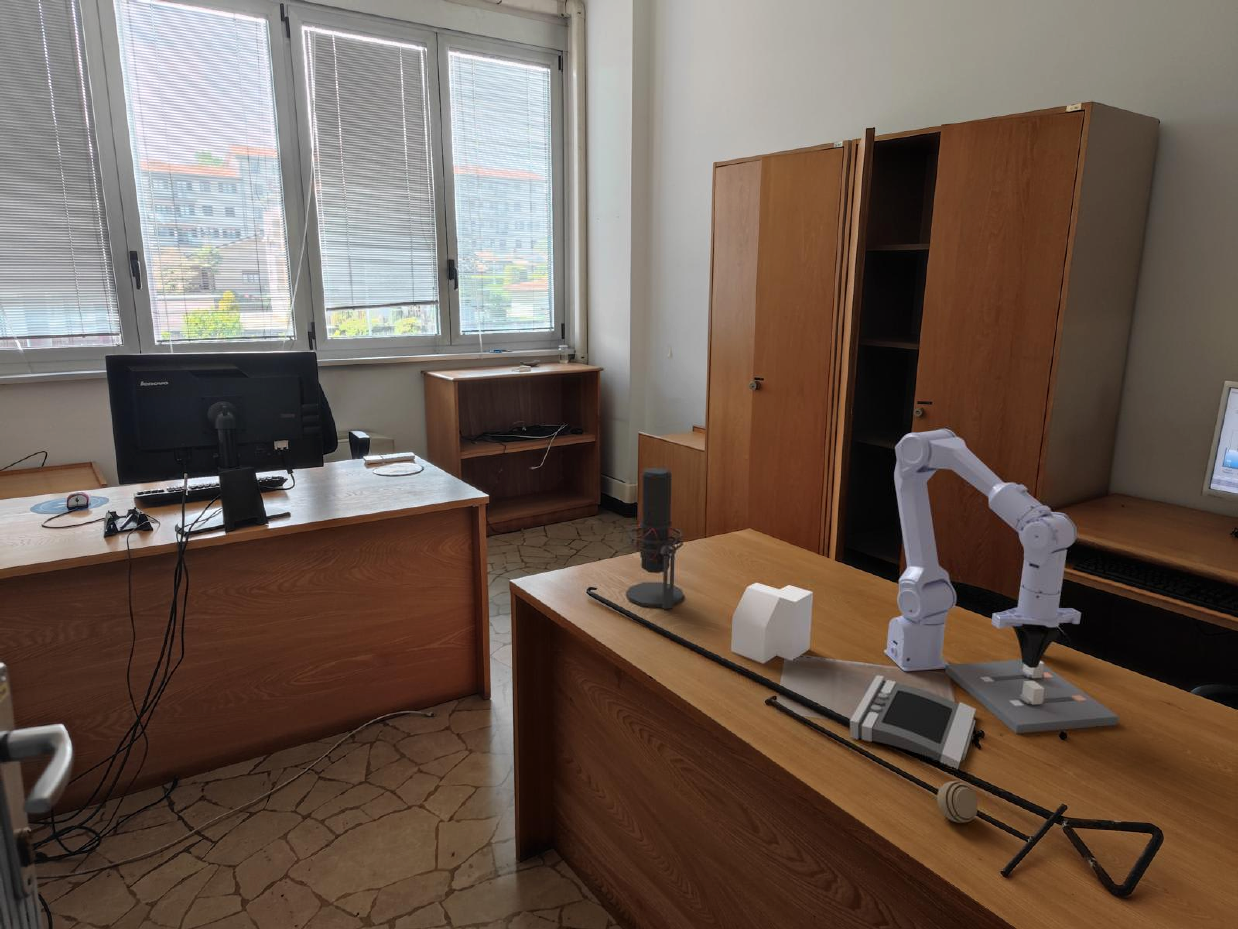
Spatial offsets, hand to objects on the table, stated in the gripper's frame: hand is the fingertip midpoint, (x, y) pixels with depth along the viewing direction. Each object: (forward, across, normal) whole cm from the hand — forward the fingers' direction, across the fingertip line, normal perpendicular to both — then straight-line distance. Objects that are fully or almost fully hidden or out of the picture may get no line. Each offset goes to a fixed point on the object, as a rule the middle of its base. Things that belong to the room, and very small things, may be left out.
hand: (1029, 664), depth 124 cm
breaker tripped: (+6, +1, 0) cm, 7 cm away
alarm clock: (+9, -21, -2) cm, 23 cm away
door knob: (+9, -27, -23) cm, 36 cm away
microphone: (+9, -51, +56) cm, 77 cm away
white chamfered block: (+9, -34, +27) cm, 45 cm away
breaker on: (+7, +7, +8) cm, 13 cm away
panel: (+8, +3, +4) cm, 10 cm away
